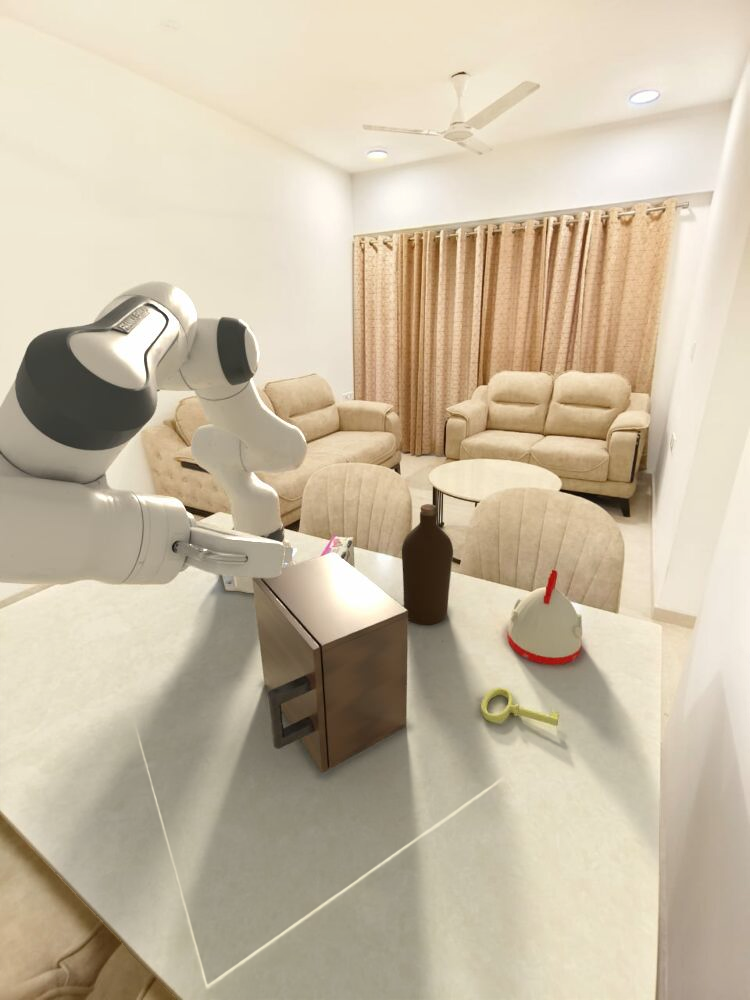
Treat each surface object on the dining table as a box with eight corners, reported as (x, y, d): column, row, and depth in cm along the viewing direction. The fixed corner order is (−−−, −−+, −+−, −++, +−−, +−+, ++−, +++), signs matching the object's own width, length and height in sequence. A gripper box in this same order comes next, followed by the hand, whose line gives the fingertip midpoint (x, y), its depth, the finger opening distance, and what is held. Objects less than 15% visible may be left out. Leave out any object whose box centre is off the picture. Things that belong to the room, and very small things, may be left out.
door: (284, 793, 69) (270, 667, 61) (232, 696, 86) (216, 588, 78) (328, 769, 73) (320, 647, 65) (269, 681, 90) (257, 576, 82)
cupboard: (329, 769, 73) (321, 645, 65) (270, 681, 90) (259, 574, 82) (406, 727, 80) (408, 610, 72) (338, 652, 97) (333, 552, 89)
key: (560, 733, 78) (562, 722, 78) (480, 721, 81) (481, 711, 80) (554, 699, 85) (556, 690, 84) (480, 690, 87) (481, 680, 87)
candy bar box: (335, 599, 115) (332, 535, 108) (356, 601, 114) (354, 536, 108) (321, 628, 104) (316, 559, 98) (344, 631, 103) (341, 561, 97)
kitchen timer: (585, 632, 102) (596, 568, 97) (574, 673, 91) (586, 603, 85) (516, 614, 108) (523, 552, 103) (499, 650, 97) (505, 583, 92)
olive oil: (411, 631, 103) (413, 520, 94) (394, 603, 113) (394, 500, 103) (458, 621, 106) (464, 513, 97) (437, 595, 116) (441, 494, 106)
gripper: (215, 521, 42) (328, 534, 53) (111, 496, 55) (219, 510, 66) (202, 595, 42) (318, 593, 53) (100, 552, 55) (210, 558, 66)
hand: (262, 547), depth 60 cm, fingers open, 8 cm apart
